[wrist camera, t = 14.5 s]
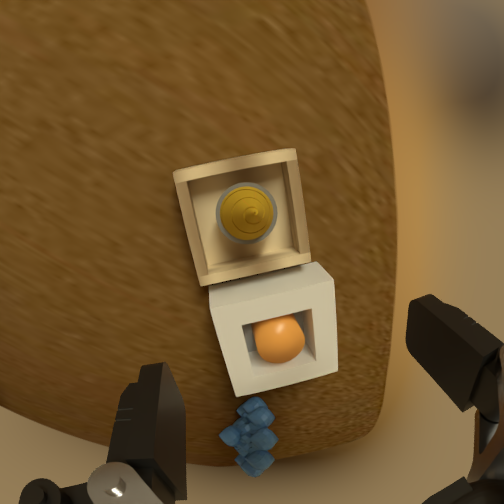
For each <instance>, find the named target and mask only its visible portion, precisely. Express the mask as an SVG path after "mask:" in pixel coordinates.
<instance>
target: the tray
mask: <svg viewBox="0 0 504 504" xmlns="http://www.w3.org/2000/svg"><path fill="white" fill-rule="evenodd" d="M173 176H174V181H175V185H176V190H177V194H178V198H179V203H180V207H181V211H182V216H183V220H184V224H185V228H186V232H187V236H188V240H189V244H190V248H191V252H192V256H193V260H194V264H195V267H196V271H197V275H198V279H199V282H200V286H205V285H210V284H214V283H219V282H223V281H228V280H233V279H237V278H242V277H246V276H251V275H255V274H259V273H264V272H268V271H273V270H277V269H281V268H286V267H290V266H294V265H299V264H303V263H307V262H311V256H310V248H309V239H308V231H307V224H306V216H305V209H304V202H303V195H302V188H301V181H300V174H299V168H298V161H297V155H296V149H291V148H286V149H280V150H274V151H268V152H262V153H256V154H251V155H245V156H240V157H235V158H230V159H225V160H220V161H215V162H210V163H205V164H201V165H196V166H192V167H187V168H183V169H179V170H176V171H174V172H173ZM244 182H250V183H255V184H258V185H260V186H262V187H264V188H265V189H266V190H268V191H269V193H270V194H271V195H272V196H273V198H274V200H275V202H276V205H277V212H278V214H277V221H276V224H275V226H274V228H273V230H272V232H271V233H270V234H269V235H268V236H267V237H266V238H265V239H263V240H261V241H259V242H257V243H254V244H240V243H236V242H234V241H232V240H230V239H229V238H227V237H226V236H225V235H224V234H223V233H222V232H221V230H220V228H219V226H218V224H217V221H216V214H215V213H216V206H217V202H218V200H219V198H220V196H221V195H222V194H223V193H224V191H226V190H227V189H228V188H229V187H231V186H233V185H235V184H238V183H244Z"/></svg>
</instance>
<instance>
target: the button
mask: <svg viewBox="0 0 504 504" xmlns="http://www.w3.org/2000/svg"><path fill="white" fill-rule="evenodd" d="M251 328H252V331H253V335H254V339H255V342H256V346H257V350H258V353H259V355H260V356H261V357H262V358H263V359H264V360H266V361H268V362H271V363H284V362H287V361H290V360H292V359H293V358H295V357H296V356H297V355H298V354H299V353H300V352H301V351H302V349H303V347H304V344H305V336H304V334H303V332H302V330H301V328H300V326H299V324H298V322H297V320H296V318H295V316H294V314H293V313H291V314H287V315H283V316H279V317H275V318H271V319H267V320H262V321H258V322H254V323H251Z"/></svg>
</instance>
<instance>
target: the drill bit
mask: <svg viewBox="0 0 504 504" xmlns="http://www.w3.org/2000/svg"><path fill="white" fill-rule="evenodd" d="M215 214H216V221H217V224H218V226H219V228H220V230H221V232H222V233H223V234H224V235H225V236H226V237H227V238H229V239H230V240H232V241H234V242H236V243H240V244H254V243H257V242H259V241H261V240H263V239H265V238H266V237H267V236H268V235H269V234H270V233H271V232H272V230H273V228H274V226H275V224H276V221H277V214H278V212H277V205H276V202H275V200H274V198H273V196H272V195H271V194H270V193H269V191H268V190H266V189H265V188H264V187H262V186H260V185H258V184H255V183H250V182H244V183H238V184H235V185H233V186H231V187H229V188H228V189H227V190H226V191H224V193H223V194H222V195H221V196H220V198H219V200H218V202H217V206H216V213H215Z"/></svg>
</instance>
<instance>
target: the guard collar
mask: <svg viewBox="0 0 504 504" xmlns="http://www.w3.org/2000/svg"><path fill="white" fill-rule="evenodd" d="M209 304H210V311H211V315H212V319H213V322H214V326H215V329H216V333H217V336H218V339H219V343H220V346H221V350H222V353H223V356H224V360H225V363H226V366H227V369H228V373H229V376H230V379H231V382H232V385H233V389H234V392H235V395H236V397H239V396H244V395H249V394H253V393H258V392H262V391H266V390H271V389H275V388H279V387H283V386H287V385H290V384H294V383H298V382H302V381H305V380H309V379H312V378H316V377H319V376H323V375H326V374H329V373H333V372H336V371H338V352H337V326H336V306H335V290H334V279H333V278H332V277H331V276H330V275H329V274H328V273H327V272H326V271H325V270H324V269H323V268H322V266H321V265H320V264H319V263H318V262H313V263H308V264H304V265H300V266H296V267H291V268H287V269H283V270H278V271H274V272H269V273H265V274H261V275H256V276H252V277H247V278H243V279H238V280H234V281H229V282H225V283H220V284H216V285H211V286H209ZM291 313H293V314H294V316H295V318H296V320H297V322H298V324H299V326H300V328H301V330H302V332H303V334H304V336H305V344H304V347H303V349H302V351H301V352H300V353H299V354H298V355H297V356H296V357H295V358H293V359H292V360H290V361H287V362H284V363H271V362H268V361H266V360H264V359H263V358H262V357H261V356H260V355H259V353H258V350H257V346H256V342H255V339H254V335H253V331H252V328H251V323H254V322H258V321H262V320H267V319H271V318H275V317H279V316H283V315H287V314H291Z"/></svg>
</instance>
